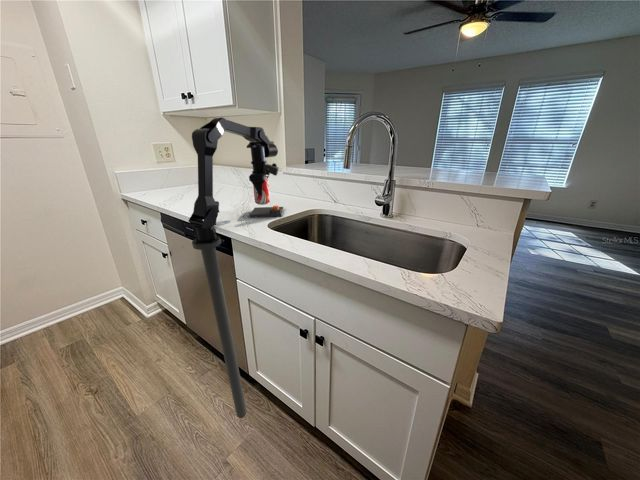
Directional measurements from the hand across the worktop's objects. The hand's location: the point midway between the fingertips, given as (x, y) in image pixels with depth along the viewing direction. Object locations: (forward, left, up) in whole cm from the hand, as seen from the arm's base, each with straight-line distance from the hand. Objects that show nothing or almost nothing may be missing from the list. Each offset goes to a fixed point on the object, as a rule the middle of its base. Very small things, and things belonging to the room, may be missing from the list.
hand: (262, 193), depth 120 cm
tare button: (+7, -5, -6) cm, 11 cm away
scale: (+2, -2, -9) cm, 9 cm away
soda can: (0, 0, -5) cm, 5 cm away
